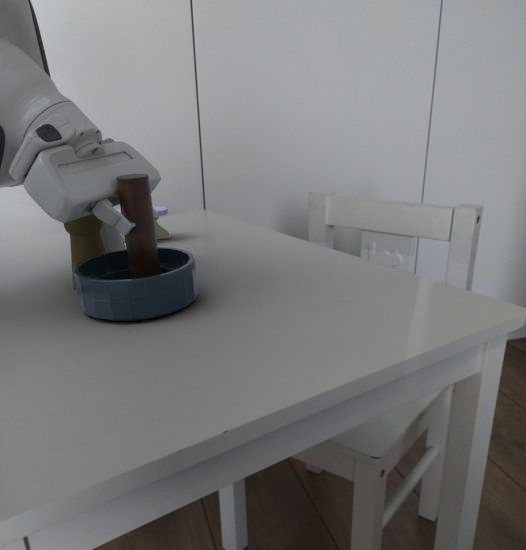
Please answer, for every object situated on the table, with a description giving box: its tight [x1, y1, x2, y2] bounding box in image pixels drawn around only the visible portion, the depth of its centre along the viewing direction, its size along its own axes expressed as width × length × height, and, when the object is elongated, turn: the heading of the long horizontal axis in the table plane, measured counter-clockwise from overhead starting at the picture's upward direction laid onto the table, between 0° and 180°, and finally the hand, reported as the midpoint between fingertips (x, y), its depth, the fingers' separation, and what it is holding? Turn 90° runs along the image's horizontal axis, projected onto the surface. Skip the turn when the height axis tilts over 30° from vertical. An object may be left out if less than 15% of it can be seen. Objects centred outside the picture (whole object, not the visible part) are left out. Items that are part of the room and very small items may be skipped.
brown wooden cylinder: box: [116, 174, 161, 279], centre depth 74 cm, size 4×4×14 cm
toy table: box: [116, 205, 171, 243], centre depth 106 cm, size 10×9×6 cm
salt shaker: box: [100, 221, 126, 252], centre depth 88 cm, size 6×6×13 cm
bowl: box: [73, 246, 199, 322], centre depth 75 cm, size 15×15×6 cm
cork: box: [62, 214, 106, 291], centre depth 81 cm, size 6×6×11 cm
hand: (142, 226), depth 73 cm, fingers closed on brown wooden cylinder, 4 cm apart
